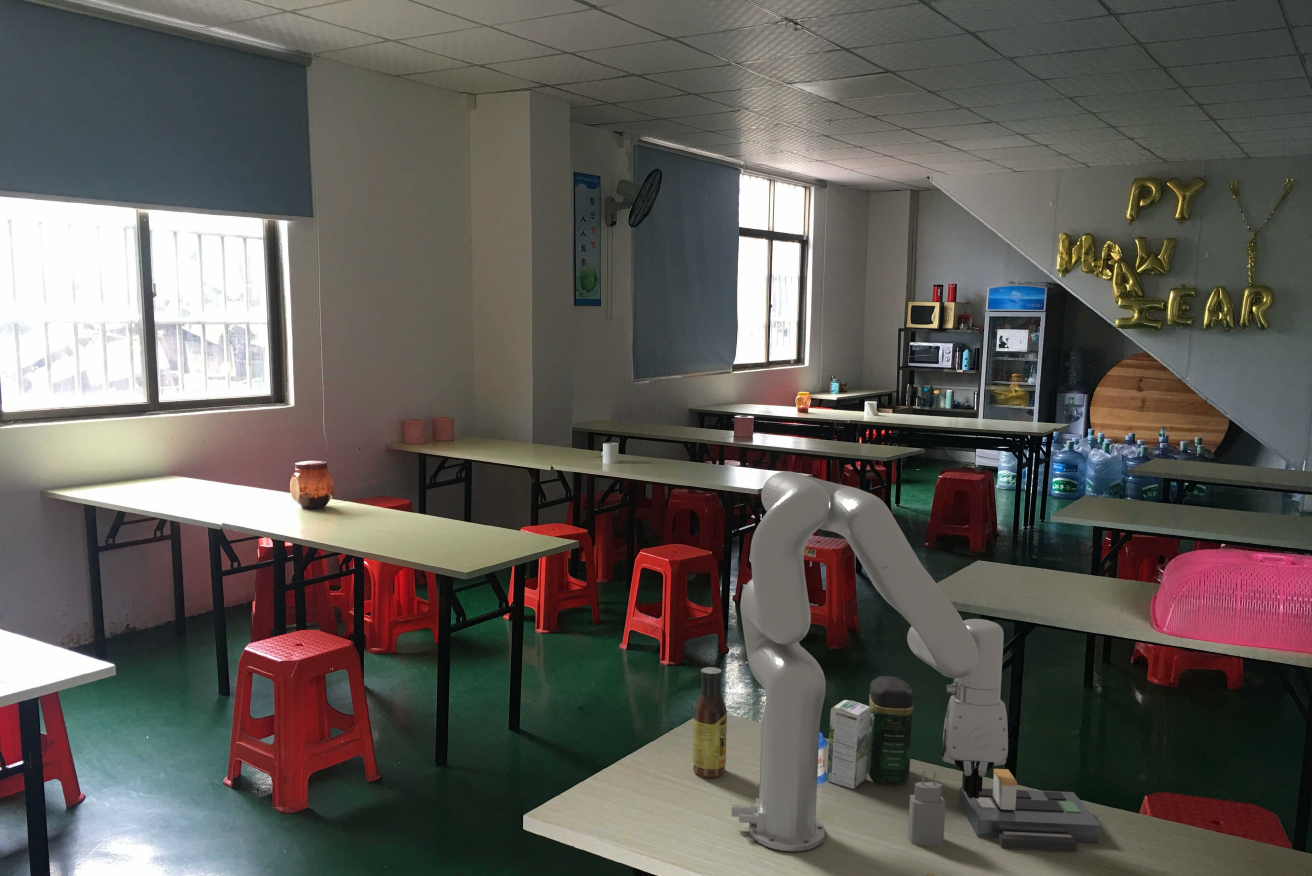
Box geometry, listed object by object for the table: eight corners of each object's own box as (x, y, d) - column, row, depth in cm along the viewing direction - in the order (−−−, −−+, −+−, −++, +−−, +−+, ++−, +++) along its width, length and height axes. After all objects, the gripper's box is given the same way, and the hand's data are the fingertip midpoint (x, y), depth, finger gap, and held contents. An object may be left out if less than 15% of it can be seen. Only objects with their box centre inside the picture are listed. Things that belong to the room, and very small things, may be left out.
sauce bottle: (726, 779, 183) (729, 677, 181) (692, 778, 183) (695, 676, 181) (724, 764, 189) (727, 665, 187) (692, 763, 189) (694, 664, 187)
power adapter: (906, 835, 164) (910, 766, 162) (938, 835, 164) (942, 766, 162) (911, 844, 161) (915, 774, 159) (944, 845, 161) (948, 775, 159)
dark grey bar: (1001, 847, 160) (1002, 838, 160) (996, 838, 163) (996, 829, 163) (1076, 851, 159) (1076, 842, 159) (1069, 842, 162) (1070, 833, 162)
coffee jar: (913, 788, 181) (918, 691, 179) (869, 785, 182) (874, 689, 180) (904, 765, 191) (908, 673, 189) (862, 763, 191) (867, 671, 189)
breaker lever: (1000, 809, 166) (1002, 781, 166) (992, 795, 172) (993, 768, 171) (1015, 809, 166) (1017, 782, 166) (1006, 795, 171) (1008, 769, 171)
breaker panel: (977, 836, 164) (978, 818, 163) (959, 802, 176) (960, 785, 175) (1099, 842, 163) (1100, 824, 162) (1072, 808, 174) (1073, 790, 174)
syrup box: (839, 770, 188) (842, 697, 186) (868, 779, 184) (871, 705, 183) (826, 781, 183) (829, 706, 181) (855, 790, 180) (858, 714, 178)
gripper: (938, 698, 164) (932, 803, 166) (1028, 702, 163) (1022, 807, 165) (928, 683, 171) (923, 783, 173) (1014, 686, 171) (1008, 786, 172)
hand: (971, 794), depth 169 cm, fingers closed
